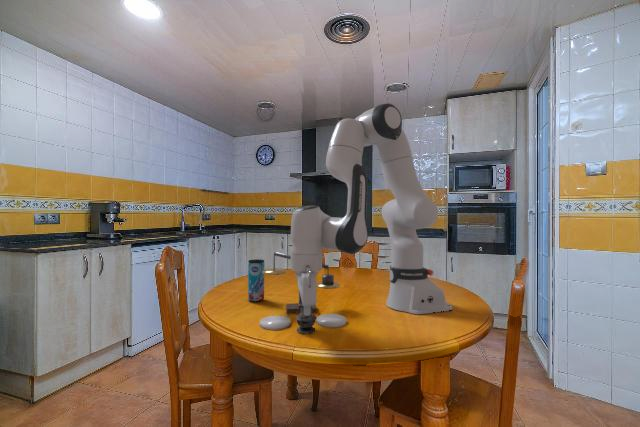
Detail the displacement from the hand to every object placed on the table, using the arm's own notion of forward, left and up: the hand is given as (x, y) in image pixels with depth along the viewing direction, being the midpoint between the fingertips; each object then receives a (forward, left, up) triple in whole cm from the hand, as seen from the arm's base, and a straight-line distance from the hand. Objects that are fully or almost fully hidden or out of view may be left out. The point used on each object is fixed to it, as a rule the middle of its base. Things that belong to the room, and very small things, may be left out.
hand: (306, 311), depth 87 cm
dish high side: (+9, -6, -5) cm, 12 cm away
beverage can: (+16, -31, -6) cm, 35 cm away
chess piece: (0, 0, -5) cm, 5 cm away
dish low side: (-8, -6, -5) cm, 12 cm away
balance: (0, -18, -5) cm, 19 cm away
